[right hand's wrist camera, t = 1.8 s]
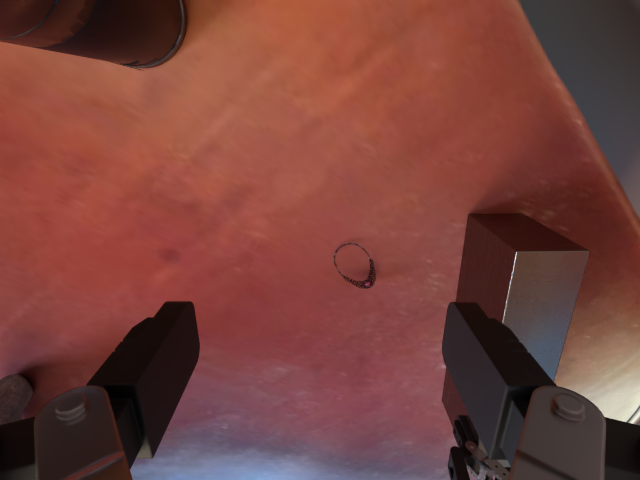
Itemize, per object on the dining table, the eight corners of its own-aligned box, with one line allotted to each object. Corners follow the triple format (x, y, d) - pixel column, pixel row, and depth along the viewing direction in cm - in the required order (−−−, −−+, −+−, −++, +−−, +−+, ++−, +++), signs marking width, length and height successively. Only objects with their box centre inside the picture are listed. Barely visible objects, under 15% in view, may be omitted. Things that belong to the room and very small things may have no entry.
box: (467, 213, 41) (516, 251, 30) (523, 213, 41) (590, 251, 30) (441, 400, 50) (471, 476, 40) (486, 400, 50) (528, 475, 40)
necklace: (355, 293, 44) (356, 297, 43) (326, 255, 42) (326, 258, 41) (384, 275, 43) (386, 279, 42) (355, 235, 41) (356, 239, 40)
